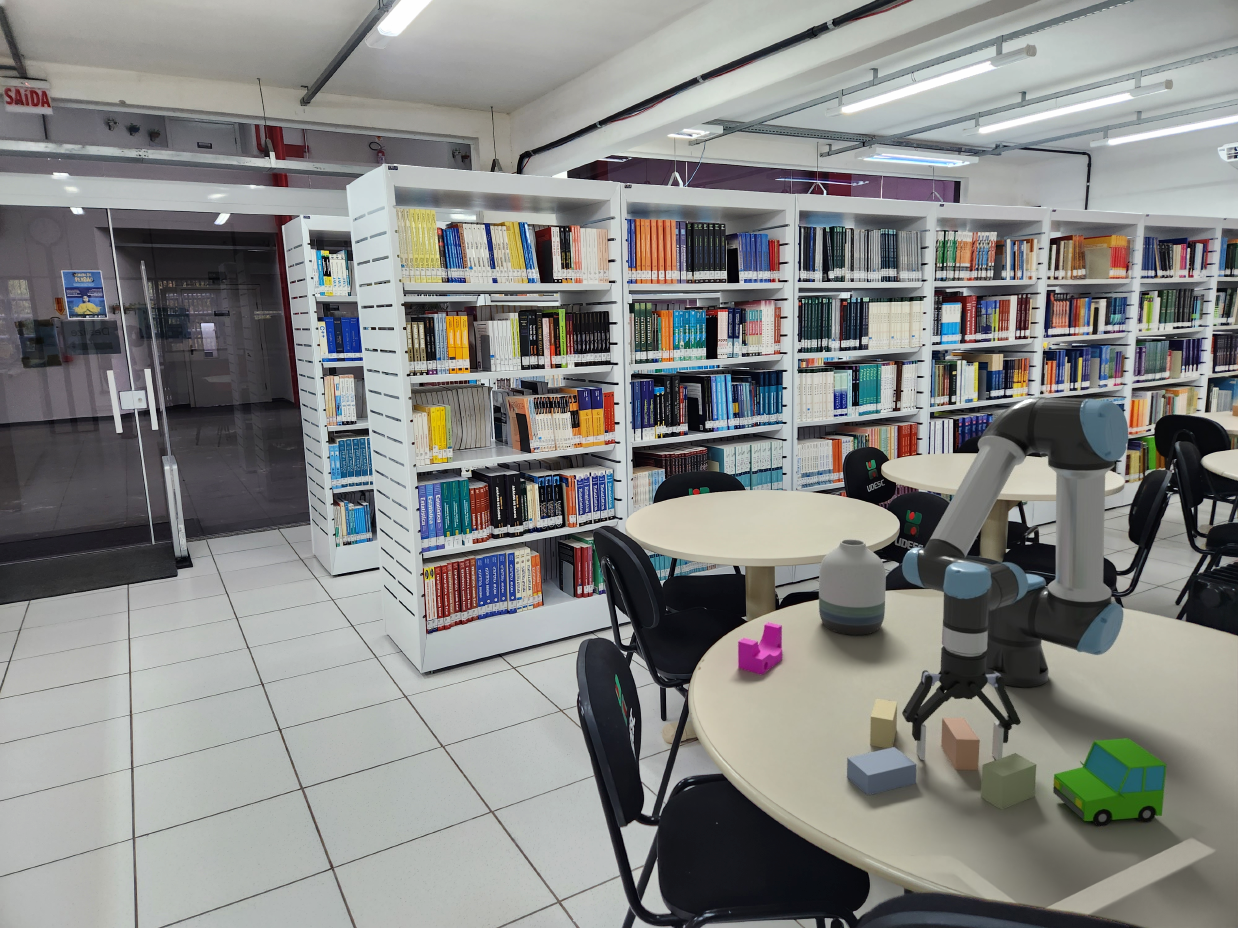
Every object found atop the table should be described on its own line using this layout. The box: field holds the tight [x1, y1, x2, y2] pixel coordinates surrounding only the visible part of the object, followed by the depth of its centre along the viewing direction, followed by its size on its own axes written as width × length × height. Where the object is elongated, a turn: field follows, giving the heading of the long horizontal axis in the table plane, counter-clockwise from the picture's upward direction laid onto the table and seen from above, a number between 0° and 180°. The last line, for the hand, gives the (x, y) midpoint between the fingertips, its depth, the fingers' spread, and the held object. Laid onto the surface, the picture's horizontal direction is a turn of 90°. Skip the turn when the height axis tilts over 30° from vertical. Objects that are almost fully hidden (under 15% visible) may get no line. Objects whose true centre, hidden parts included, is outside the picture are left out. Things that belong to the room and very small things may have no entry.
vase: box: [818, 538, 887, 636], centre depth 204 cm, size 17×17×24 cm
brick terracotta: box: [940, 717, 981, 771], centre depth 142 cm, size 8×4×6 cm, turn 174°
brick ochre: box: [869, 698, 898, 749], centre depth 150 cm, size 8×4×6 cm, turn 154°
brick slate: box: [846, 746, 917, 796], centre depth 136 cm, size 10×6×4 cm, turn 108°
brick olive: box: [980, 752, 1037, 810], centre depth 129 cm, size 8×4×6 cm, turn 115°
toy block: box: [737, 622, 783, 676], centre depth 185 cm, size 15×6×8 cm, turn 141°
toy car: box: [1052, 737, 1167, 827], centre depth 125 cm, size 10×13×10 cm
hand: (958, 756), depth 142 cm, fingers open, 13 cm apart
